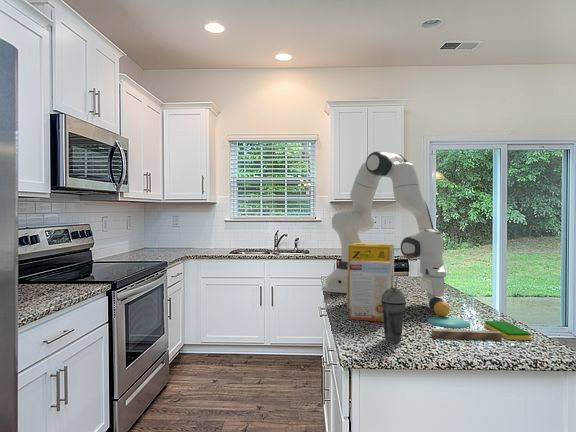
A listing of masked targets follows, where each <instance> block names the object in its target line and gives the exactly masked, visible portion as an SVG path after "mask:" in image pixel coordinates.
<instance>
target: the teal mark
mask: <svg viewBox="0 0 576 432" xmlns="http://www.w3.org/2000/svg"><path fill="white" fill-rule="evenodd" d="M426 321H427V322H428V323H429V324H431V325H434V326H436V327H441V328H446V329H447V328H448V329H465V328H469V327H471V322H469V321H467V320H465V319H461V318H458V317H451V316H444V317H440V316H431V317H428V318H427V319H426Z"/></svg>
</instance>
